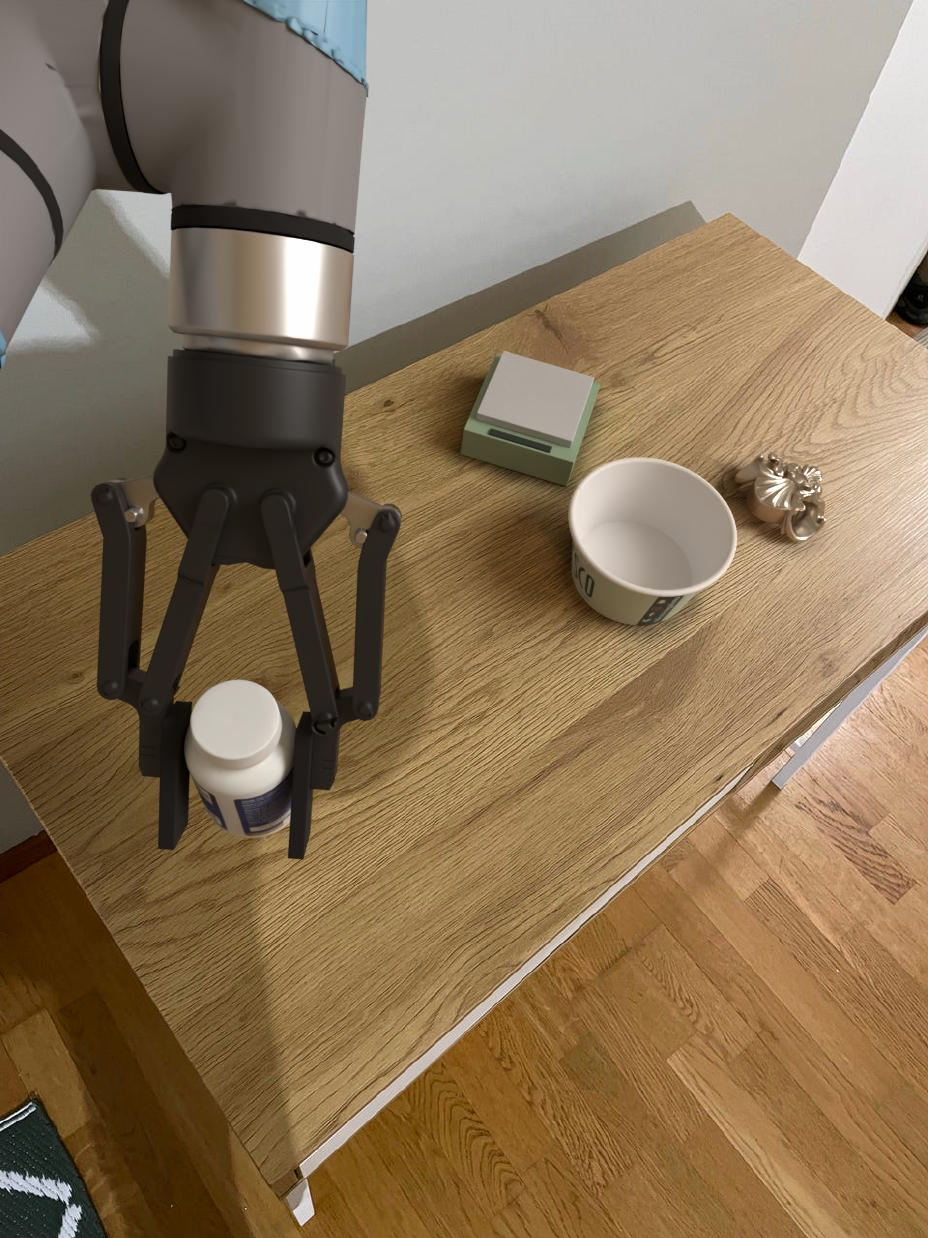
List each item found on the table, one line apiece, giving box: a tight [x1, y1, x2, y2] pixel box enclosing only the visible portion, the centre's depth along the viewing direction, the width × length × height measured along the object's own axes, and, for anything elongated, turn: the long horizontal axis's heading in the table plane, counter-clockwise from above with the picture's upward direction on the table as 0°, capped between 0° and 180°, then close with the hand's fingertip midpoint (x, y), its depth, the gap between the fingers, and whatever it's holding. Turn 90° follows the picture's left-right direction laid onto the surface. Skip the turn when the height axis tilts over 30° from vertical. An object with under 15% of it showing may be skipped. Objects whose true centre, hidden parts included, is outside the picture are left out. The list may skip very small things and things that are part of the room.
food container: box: [567, 456, 738, 626], centre depth 68 cm, size 12×12×6 cm
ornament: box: [734, 451, 827, 543], centre depth 74 cm, size 8×7×4 cm
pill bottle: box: [184, 679, 297, 839], centre depth 46 cm, size 5×5×10 cm
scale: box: [460, 350, 601, 487], centre depth 76 cm, size 9×9×4 cm
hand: (236, 840), depth 46 cm, fingers closed on pill bottle, 5 cm apart
